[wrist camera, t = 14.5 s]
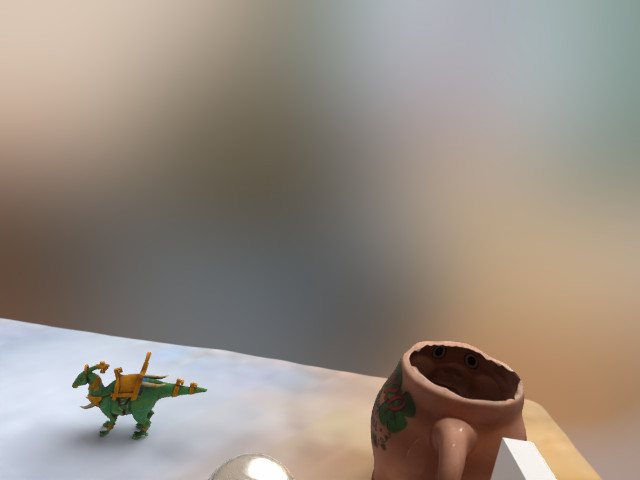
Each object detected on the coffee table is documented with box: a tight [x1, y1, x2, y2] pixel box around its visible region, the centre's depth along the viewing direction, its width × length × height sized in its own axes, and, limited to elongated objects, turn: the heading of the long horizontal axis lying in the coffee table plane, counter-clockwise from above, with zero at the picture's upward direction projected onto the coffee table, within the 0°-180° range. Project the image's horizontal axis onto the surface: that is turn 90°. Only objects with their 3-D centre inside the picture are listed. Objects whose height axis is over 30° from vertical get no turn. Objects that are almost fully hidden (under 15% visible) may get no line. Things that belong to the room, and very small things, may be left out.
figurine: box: [72, 352, 207, 439], centre depth 48 cm, size 3×12×8 cm, turn 99°
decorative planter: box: [371, 341, 527, 480], centre depth 42 cm, size 20×12×14 cm, turn 171°
